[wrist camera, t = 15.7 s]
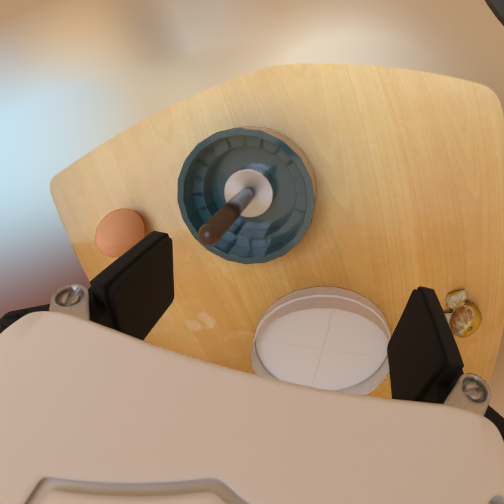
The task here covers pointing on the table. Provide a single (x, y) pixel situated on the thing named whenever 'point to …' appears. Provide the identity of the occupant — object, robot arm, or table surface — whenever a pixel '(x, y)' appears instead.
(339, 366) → the dish
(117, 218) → the egg
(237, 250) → the bowl
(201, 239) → the upright rod
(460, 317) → the fruit
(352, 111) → the table surface
